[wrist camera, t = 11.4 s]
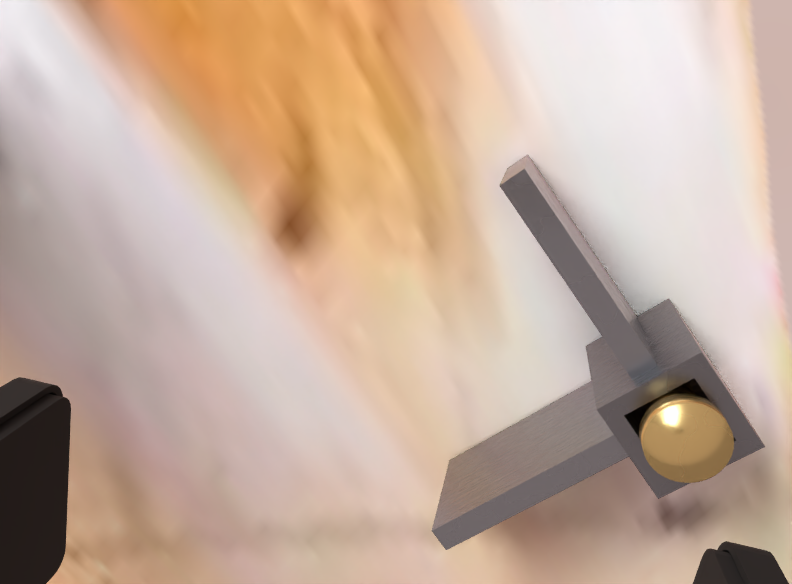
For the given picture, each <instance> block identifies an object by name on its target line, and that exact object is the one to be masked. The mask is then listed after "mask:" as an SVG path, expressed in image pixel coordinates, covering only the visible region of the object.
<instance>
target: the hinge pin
mask: <svg viewBox="0 0 792 584" xmlns="http://www.w3.org/2000/svg"><path fill="white" fill-rule="evenodd" d="M645 408H646V413H645V414H644V416H643V418H642V420H641V423H640V428H639V437H640V441H641V445H642V449H643V452H644V455H645V458H646V460H647V462H648V463H649V465H650V466H651V467H652V468H653V469H654V470H655V471H656V472H657V473H659V474H660V475H662V476H663V477H665V478H667V479H670V480H673V481H676V482H682V483H694V482H700V481H703V480H706V479H709V478H711V477H713V476H715V475H716V474H718V473H719V472H720V471H721V470H722V469H723V468H724V467H725V466H726V465H727V464H728V462H729V460H730V458H731V456H732V453H733V449H734V437H733V433H732V431H731V428H730V426H729V424H728V423H727V421H726V419H725V417H724V416H723V414H722V412H721V411H720V410H719V408H718V407H717V406H715V405H714V404H713V403H712V402H710V401H709V400H707V399H705V398H703V397H700V396H697V395H695V393H694V391H693V389H692V387H691V385H690V383H689V381H688V382H686V383H684V384H682V385H680V386H678V387H677V388H675V389H673V390H671V391H669V392H667V393H665V394H663V395H662V396H660V397H658V398H656V399H654V400H652V401H650V402H648V403H647V404H645Z"/></svg>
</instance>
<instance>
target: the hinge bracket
mask: <svg viewBox="0 0 792 584" xmlns="http://www.w3.org/2000/svg"><path fill="white" fill-rule="evenodd" d="M500 187H501V188H502V190H503V191H504V193H505V194H506V196H507V197H508V199H509V200H510V201H511V203H512V204H513V206H514V207H515V209H516V210H517V212H518V213H519V215H520V216H521V218H522V219H523V221H524V222H525V223H526V225H527V226H528V228H529V229H530V231H531V232H532V234H533V235H534V237H535V238H536V240H537V241H538V242H539V244H540V245H541V247H542V248H543V250H544V251H545V253H546V254H547V256H548V257H549V259H550V260H551V262H552V263H553V264H554V266H555V267H556V269H557V270H558V272H559V273H560V275H561V276H562V278H563V279H564V281H565V282H566V284H567V285H568V286H569V288H570V289H571V291H572V292H573V294H574V295H575V297H576V298H577V300H578V301H579V303H580V304H581V306H582V307H583V308H584V310H585V311H586V313H587V314H588V316H589V317H590V319H591V320H592V322H593V323H594V325H595V326H596V328H597V329H598V330H599V332H600V333H601V335H602V336H603V337H601V338H599V339H598V340H596V341H594V342H592V343H591V344H589V345H587V346H586V350H587V356H588V362H589V368H590V374H591V380H592V381H591V382H589V383H587V384H585V385H584V386H582V387H580V388H578V389H576V390H575V391H573V392H571V393H569V394H567V395H566V396H564V397H562V398H560V399H559V400H557V401H555V402H553V403H551V404H550V405H548V406H546V407H544V408H542V409H541V410H539V411H537V412H535V413H533V414H532V415H530V416H528V417H526V418H525V419H523V420H521V421H519V422H517V423H516V424H514V425H512V426H510V427H508V428H507V429H505V430H503V431H501V432H499V433H498V434H496V435H494V436H492V437H491V438H489V439H487V440H485V441H483V442H482V443H480V444H478V445H476V446H474V447H473V448H471V449H469V450H467V451H465V452H464V453H462V454H460V455H458V456H456V457H455V458H453V459H451V460H450V461H449V465H448V469H447V473H446V477H445V481H444V484H443V488H442V492H441V496H440V500H439V504H438V508H437V512H436V516H435V520H434V524H433V528H432V532H433V533H434V534H435V536H436V537H437V538H438V540H439V541H440V543H441V544H442V545H443V547H444V548H445V549H446V550H447V549H449V548H451V547H453V546H455V545H457V544H459V543H461V542H463V541H465V540H467V539H469V538H471V537H473V536H475V535H477V534H479V533H481V532H483V531H484V530H486V529H488V528H490V527H492V526H494V525H496V524H498V523H500V522H502V521H504V520H506V519H508V518H510V517H512V516H514V515H516V514H518V513H520V512H521V511H523V510H525V509H527V508H529V507H531V506H533V505H535V504H537V503H539V502H541V501H543V500H545V499H547V498H549V497H551V496H553V495H555V494H557V493H558V492H560V491H562V490H564V489H566V488H568V487H570V486H572V485H574V484H576V483H578V482H580V481H582V480H584V479H586V478H588V477H590V476H592V475H594V474H596V473H597V472H599V471H601V470H603V469H605V468H607V467H609V466H611V465H613V464H615V463H617V462H619V461H621V460H623V459H625V458H627V457H630V459H631V460H632V462H633V463H634V464H635V466H636V467H637V469H638V470H639V472H640V473H641V475H642V476H643V477H644V479H645V480H646V482H647V483H648V485H649V486H650V488H651V489H652V490H653V492H654V493H655V495H656V496H657V498H658V499H659V498H661V497H663V496H665V495H667V494H669V493H671V492H673V491H675V490H677V489H679V488H681V487H683V486H685V485H687V484H690V483H682V482H676V481H673V480H670V479H667V478H665V477H663V476H662V475H660V474H659V473H657V472H656V471H655V470H654V469H653V468H652V467H651V466H650V465H649V463H648V462H647V460H646V458H645V455H644V452H643V449H642V445H641V441H640V437H639V428H640V423H641V420H642V418H643V416H644V414H645V413H646V408H645V404H647V403H648V402H650V401H652V400H654V399H656V398H658V397H660V396H662V395H663V394H665V393H667V392H669V391H671V390H673V389H675V388H677V387H678V386H680V385H682V384H684V383H686V382H688V381H689V383H690V385H691V387H692V389H693V391H694V393H695V395H697V396H700V397H703V398H705V399H707V400H709V401H710V402H712V403H713V404H714V405H715V406H717V407H718V408H719V410H720V411H721V412H722V414H723V416H724V417H725V419H726V421H727V423H728V424H729V426H730V428H731V431H732V433H733V437H734V449H733V453H732V456H731V458H730V460H729V462H728V464H727V465H729V464H731V463H733V462H735V461H737V460H739V459H741V458H743V457H745V456H747V455H749V454H751V453H753V452H755V451H757V450H759V449H761V448H764V447H765V446H764V444H763V443H762V441H761V440H760V438H759V436H758V435H757V433H756V432H755V430H754V428H753V427H752V425H751V424H750V422H749V420H748V419H747V417H746V416H745V414H744V412H743V411H742V409H741V408H740V406H739V404H738V403H737V401H736V400H735V398H734V396H733V395H732V393H731V392H730V390H729V388H728V387H727V385H726V384H725V382H724V380H723V379H722V377H721V376H720V374H719V373H718V371H717V370H716V368H715V367H714V365H713V364H712V362H711V361H710V359H709V358H708V356H707V355H706V353H705V352H704V350H703V349H702V347H701V346H700V344H699V343H698V341H697V339H696V338H695V336H694V335H693V333H692V332H691V330H690V329H689V327H688V326H687V324H686V323H685V321H684V320H683V318H682V317H681V315H680V314H679V312H678V311H677V309H676V308H675V306H674V305H673V303H672V302H671V300H670V299H667V300H665V301H664V302H662V303H660V304H658V305H657V306H655V307H653V308H651V309H650V310H648V311H646V312H644V313H643V314H641V315H639V316H638V317H637V316H636V314H635V313H634V311H633V310H632V308H631V307H630V305H629V304H628V303H627V301H626V300H625V298H624V297H623V295H622V294H621V292H620V291H619V289H618V288H617V286H616V285H615V283H614V282H613V280H612V279H611V277H610V276H609V274H608V273H607V271H606V270H605V268H604V267H603V265H602V264H601V262H600V261H599V259H598V258H597V256H596V255H595V254H594V252H593V251H592V249H591V248H590V246H589V245H588V243H587V242H586V240H585V239H584V237H583V236H582V234H581V233H580V231H579V230H578V228H577V227H576V225H575V224H574V222H573V221H572V219H571V218H570V216H569V215H568V213H567V212H566V210H565V209H564V208H563V206H562V205H561V203H560V202H559V200H558V199H557V197H556V196H555V194H554V193H553V191H552V190H551V188H550V187H549V185H548V184H547V182H546V181H545V179H544V178H543V176H542V175H541V173H540V172H539V170H538V169H537V167H536V166H535V164H534V163H533V161H532V160H531V159H530V157H529V156H528V155H526V156H525V157H523V158H522V159H520V160H519V161H518V162H516V163H515V164H513V165H512V166H510V167H509V168H507V171H506V173H505V175H504V177H503V179H502V181H501V184H500ZM727 465H726V466H727Z"/></svg>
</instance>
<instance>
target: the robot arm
mask: <svg viewBox="0 0 792 584" xmlns="http://www.w3.org/2000/svg"><path fill="white" fill-rule="evenodd" d="M70 419H71V404H70V402H69V400H68V399H67V398H65V397H63V394H62V392H61V389H60V388H59V387H58V386H56V385H52V384H48V383H43V382H39V381H35V380H30V379H26V378H20V377H19V378H16V379H14V380H12V381H10V382H9V383H7V384H5V385H4V386H2V387H0V584H46V583H47V582H48V581H49V580H50V579H51V578H52V577H53V576H54V574H55V573H56V572H57V570H58V568H59V567H60V565H61V563H62V560H63V557H64V554H65V548H66V524H67V498H68V472H69V445H70ZM693 584H789V583H788V581H787V579H786V578H785V576H784V574H783V572H782V570H781V569H780V567H779V565H778V563H777V561H776V560H775V558H774V556H773V555H772V554H771V553H770V552H768V551H765V550H761V549H757V548H753V547H748V546H744V545H740V544H735V543H731V542H727V541H726V542H723V543H722V544H721V545H720V546H719V548H718V550H714V549H707V550H706V551H705V553H704V555H703V557H702V559H701V562H700V565H699V568H698V571H697V573H696V576H695V579H694V582H693Z"/></svg>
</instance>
